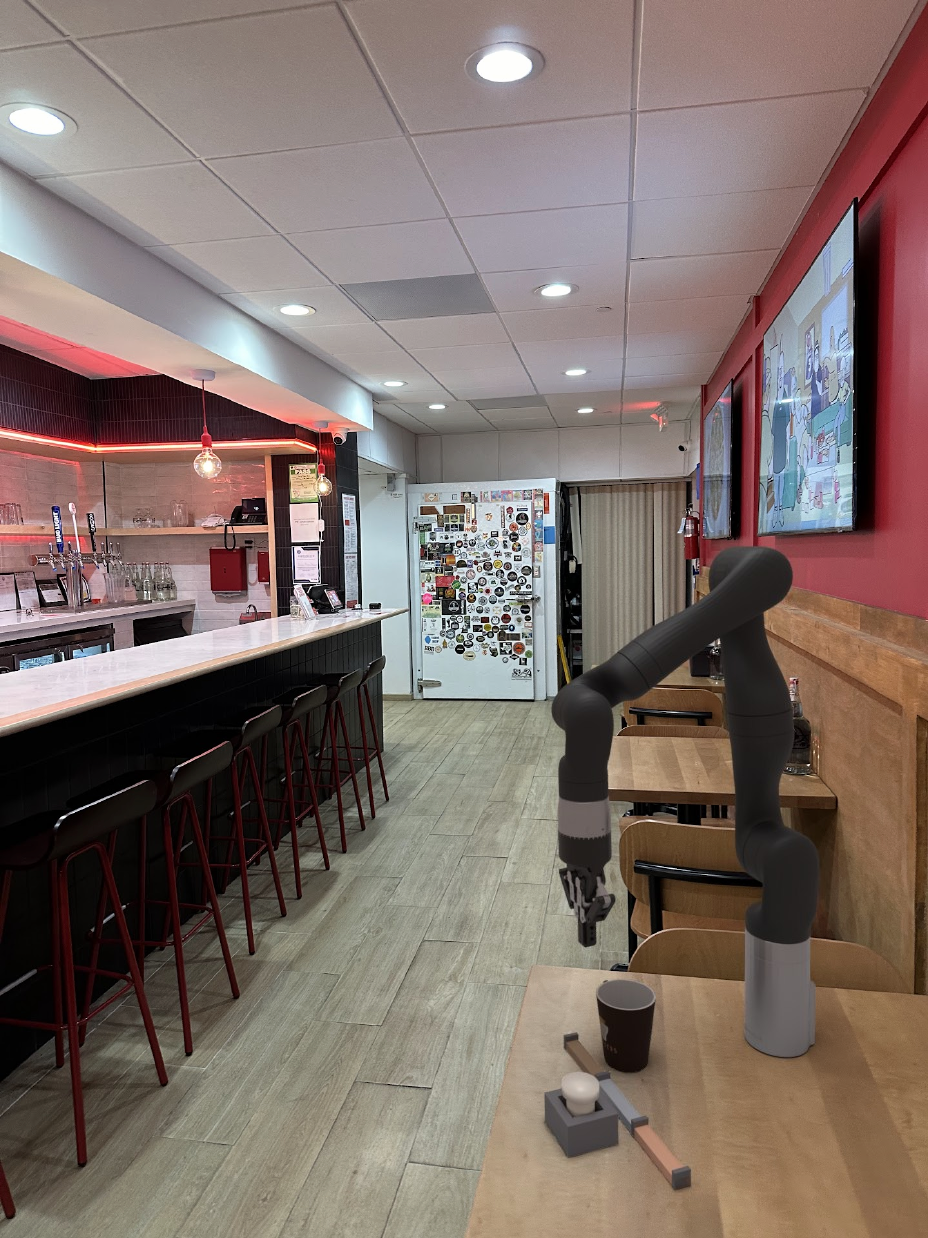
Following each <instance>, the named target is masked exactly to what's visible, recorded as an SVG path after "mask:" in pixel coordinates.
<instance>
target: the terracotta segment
mask: <svg viewBox="0 0 928 1238" xmlns="http://www.w3.org/2000/svg"><path fill="white" fill-rule="evenodd" d="M649 1118H650V1117H648V1115H643V1116H642V1115H641V1117H638V1118H634V1119H631V1132H630V1135H631V1136H632V1137H633V1138H634V1139H635V1140H636V1141H637V1143H638V1144H639V1145H640V1147H641V1148H642V1149H643V1150H644V1152H645V1153H646V1154H647V1155H648V1157H649V1158H650V1159H651V1161H652V1162H653V1163H654V1164H655V1166H656V1167H657V1168H658V1170H659V1171H660V1173H662V1174H663V1176H664V1178H665V1179H666V1180H667V1182H668V1183H669V1184H670V1185H671V1187H672V1189H673V1190H674V1191H677V1190H679V1189H683V1188H686V1187H690V1186H691V1185H692V1169H691V1167H690V1166H689V1165H686V1166H683V1165H682V1164H681V1163H680V1162H679V1160H678V1159H677V1158H676V1157H675V1156H674V1154H672V1152H671V1151H670V1150H669V1148H668V1147H667V1146H666V1144H665V1143H664V1142H663V1141H662V1140H661V1138H660V1137H659V1136H658V1135H657V1133H655V1131H654V1130H653V1128H652V1127H651V1126H650V1125H649V1122H650V1121H649Z"/></svg>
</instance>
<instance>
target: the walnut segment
mask: <svg viewBox="0 0 928 1238" xmlns="http://www.w3.org/2000/svg"><path fill="white" fill-rule="evenodd" d="M563 1049H564V1050H565V1051H566V1052H567V1053H568V1054H569V1056H570V1057H571V1058H572V1059H573V1061H574V1062H575V1063H576V1064H577V1066H578V1067H579V1069H580V1070H581V1072H585V1073H588V1074H591V1075H593V1076H594V1077H595V1074H596V1073H600V1072H604V1071H605V1070H603V1068H602V1067H601V1065H599V1063H598V1062H597V1061H596V1060H595V1058H594V1057H593V1055H591V1053H590V1052H589V1051H588V1049H586V1047H585V1046H584V1045H583V1044H582V1042H580V1040H579V1033H578V1032H576V1031H575V1032H572V1033H567V1034H563Z"/></svg>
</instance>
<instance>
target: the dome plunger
mask: <svg viewBox="0 0 928 1238" xmlns="http://www.w3.org/2000/svg"><path fill="white" fill-rule="evenodd" d="M561 1088H562V1095H563V1097H564V1098H565V1099H566V1106H567V1110H568V1112H569V1113H570V1115H571V1116H572V1118H574V1117H578V1116H581V1115H585V1114H589V1113H593V1112H595V1101H596V1100H597V1099H598V1097H599V1082H598V1080H597V1079H596V1078H595V1077H594V1076H593V1075H591V1074H588V1073H585V1072H583V1071H573V1072H569V1073H567V1074H565V1075H564V1076H563V1077H562V1079H561Z"/></svg>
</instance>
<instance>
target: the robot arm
mask: <svg viewBox="0 0 928 1238" xmlns="http://www.w3.org/2000/svg"><path fill="white" fill-rule="evenodd" d="M709 566H710V567H709V571H708V589H709V593H707V594H706V595H705V596H703V597H702V598H700V599H699V600H698V601H696V602H695V603H693V604H692V605H690V606H688V607H686V608H685V609H683V610H681V611H680V612H677V613H676V614H674V615H671V616H670V617H667V618H666V619H663V620H662V621H660V622H658V623H656V624H655V625H653V626H651V627H648V628H647V629H646V630H645V631H643V632H641V633H640V634H638V635H637V636H636V637H635V638H634V639H632V640H630V641H629V642H628V643H627V644H625V645H624V646H623V647H622V648H620V649H619V650H618V651H617V652H615V653H614V654H613V655H612V656H610V658H609V659H607V660H606V661H604V662H603V663H601V664H599V665H597V666H595V667H593V668H591V669H589V670H588V671H586V672H584V673H582V674H580V675H579V676H578V677H577V676H576V677H575V678H573V679H572V680H570V681H569V682H568V683H566V684H565V685H564V686H563V687H562V688H561V689H560V690H559V691H558V692H557V693H556V695H555V696H554V697H553V700H552V703H551V708H550V709H551V717H552V719H553V721H554V723H555V724H556V725H557V726H558V728H560V729H561V730H563V731H564V734H565V747H564V754H563V755H562V756H561V758H560V759H559V762H558V767H557V768H558V770H557V775H558V776H557V777H558V779H557V780H558V781H557V783H558V803H557V837H558V838H557V840H558V841H557V843H558V844H557V846H558V850H557V851H558V858H559V859H560V861H561V862H562V863H564V864H565V865H566V867H562V868H559V869H558V874H559V878H560V882H561V885H562V888H563V891H564V895H565V898H566V902H567V905H568V907H569V909H571V910H573V912H574V917H575V918H576V919H577V940H578V941H577V942H578V943H579V944H580V945H581V946H582V947H583V948H589V947H593V946H596V945H597V938H598V937H597V923H599V922H602V921H606V919H607V917H608V915H609V914H610V912H611V910H612V908H613V907H614V905H615V903H616V902H617V901H616V895H615V894H614V893H608V890H607V889H606V887H605V885H606V881H607V880H606V879H607V878H606V875H605V874H606V873H605V871H604V868H605V866H606V865H607V864H608V863H609V862H610V861H611V860H612V857H613V853H612V852H613V847H612V811H611V803H610V796H609V795H610V793H609V769H608V765H609V761H610V758H611V757H610V756H611V751H612V744H613V738H614V731H615V730H614V729H615V720H614V712H613V708H615V707H617V705H619V704H621V703H624V702H630V701H631V702H632V701H636V700H638V699H640V698H642V696H644V695H646V694H647V693H648V692H650V691H652V689H653V688H654V687H656V686H657V685H658V684H659V683H661V682H662V681H664V680H665V679H666V678H667V677H668V676H670V675H671V674H672V673H673V672H675V670H677V669H678V668H679V667H681V666H682V665H683V664H685V663H686V662H687V661H689V660H690V659H692V658H693V657H695V656H696V655H697V654H699V653H700V652H702V651H703V650H704V649H706V648H707V647H708V646H710V645H711V644H714V642H716V641H717V640H719V644H720V652H721V653H720V654H721V666H722V675H723V683H724V693H725V707H726V717H727V727H728V728H727V729H728V736H729V743H730V749H731V750H730V751H731V762H732V764H731V765H732V775H733V783H734V784H733V785H734V805H735V806H734V846H735V847H734V848H735V855H736V857H737V858H736V859H737V861H738V863H739V865H740V867H741V868H742V870H744V871H745V872H746V874H748V875H749V876H750V877H752V878H753V879H755V880H757V882H758V881H759V882H760V883H762V889H761V890H762V894H761V901H757V902H754V903H752V904H750V905H749V906H747V908H746V910H745V915H744V916H745V917H744V926H745V927H744V948H745V949H744V951H745V952H744V1038H745V1039H746V1041H747V1043H748V1044H749V1045H750V1046H752V1048H755V1049H756V1050H758V1051H759V1052H762V1053H764V1054H767V1055H771V1056H774V1057H780V1058H792V1057H793V1058H794V1057H798V1056H799V1057H800V1056H801V1055H803V1054H805V1053H806V1052H807V1051H808V1050H809V1048H810V1046H812V1045H813V1046H814V1045H815V1043H816V1041H815V1039H816V1038H815V1037H816V1030H815V1029H816V984H815V982H814V981H813V980H811V929H812V924H813V923H814V921H815V918H816V915H817V911H818V896H819V884H820V883H819V882H820V881H819V880H820V858H819V854H818V853H819V852H818V850H817V848H816V846H815V844H814V842H813V841H812V840H811V839H810V838H809V837H808V836H806V835H804V834H802V833H801V832H798V831H796V830H795V829H792V828H790V827H789V826H786V825H785V823H784V821H783V820H784V819H783V816H782V810H781V802H780V783H781V778H782V776H783V772H784V770H785V768H786V766H787V763H788V760H789V758H790V756H791V753H792V751H793V747H794V742H795V724H794V713H793V704H792V697H791V694H790V689H789V687H788V685H787V681H786V679H785V676H784V675H783V672H782V670H781V668H780V666H779V664H778V662H777V660H776V658H775V655H774V653H773V651H772V650H771V646H770V644H769V641H768V637H767V632H766V626H765V625H766V624H765V612H767V611H769V610H771V609H772V608H774V607H776V606H777V605H778V604H780V603H782V601H783V600H784V599H785V598H786V596H787V595H788V594H789V592H790V590H791V588H792V584H793V580H794V579H793V578H794V573H793V568H792V564H791V562H790V561H789V559H788V558H787V556H786V555H785V554H783V553H782V552H781V551H779V550H777V549H775V548H772V547H769V546H760V545H759V546H758V545H754V546H751V545H749V546H748V545H747V546H746V545H745V546H730V547H727V548H725V549H723V550H721V551H720V552H719V553H718V554H717V555H715V557H714V558H713V560H712V562H711V563H710V565H709Z"/></svg>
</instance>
